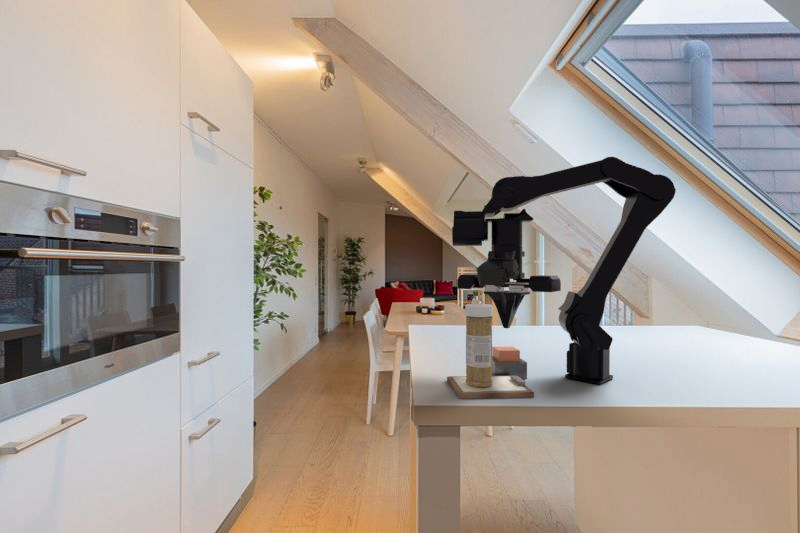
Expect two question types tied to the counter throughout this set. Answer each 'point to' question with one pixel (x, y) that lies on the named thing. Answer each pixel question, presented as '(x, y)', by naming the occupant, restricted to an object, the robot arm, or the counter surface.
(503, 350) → the button
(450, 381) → the clipboard
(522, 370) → the button housing
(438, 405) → the counter surface
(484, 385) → the sprinkles bottle
